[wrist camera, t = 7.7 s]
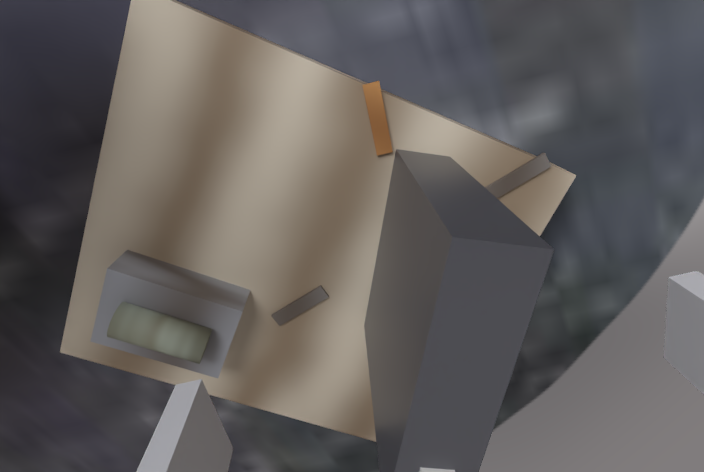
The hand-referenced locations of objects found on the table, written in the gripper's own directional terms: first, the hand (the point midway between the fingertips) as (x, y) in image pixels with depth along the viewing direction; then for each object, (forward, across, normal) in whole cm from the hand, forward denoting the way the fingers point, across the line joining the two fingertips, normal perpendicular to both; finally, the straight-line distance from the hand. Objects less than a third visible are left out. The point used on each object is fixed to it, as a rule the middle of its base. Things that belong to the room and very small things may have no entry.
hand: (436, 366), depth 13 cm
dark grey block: (+9, 0, 0) cm, 9 cm away
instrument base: (+12, +4, +1) cm, 13 cm away
